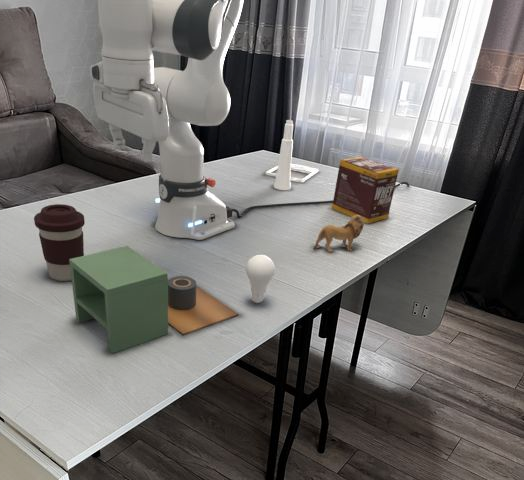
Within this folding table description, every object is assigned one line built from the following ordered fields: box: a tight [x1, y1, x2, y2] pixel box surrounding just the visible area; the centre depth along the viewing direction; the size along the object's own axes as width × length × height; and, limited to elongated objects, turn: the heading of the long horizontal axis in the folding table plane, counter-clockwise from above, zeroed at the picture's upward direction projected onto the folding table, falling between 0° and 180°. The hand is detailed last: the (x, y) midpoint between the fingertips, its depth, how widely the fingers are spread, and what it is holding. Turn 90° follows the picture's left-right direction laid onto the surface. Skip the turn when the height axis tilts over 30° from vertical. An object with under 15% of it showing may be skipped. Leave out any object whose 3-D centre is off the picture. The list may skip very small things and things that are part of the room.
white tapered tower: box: [273, 119, 294, 191], centre depth 182 cm, size 6×6×22 cm
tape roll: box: [168, 275, 198, 310], centre depth 113 cm, size 6×6×5 cm
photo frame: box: [265, 162, 320, 184], centre depth 204 cm, size 15×1×18 cm
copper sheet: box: [168, 285, 239, 336], centre depth 114 cm, size 14×20×1 cm
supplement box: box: [331, 156, 400, 225], centre depth 169 cm, size 10×15×16 cm
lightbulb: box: [245, 254, 276, 304], centre depth 115 cm, size 6×6×11 cm
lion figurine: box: [312, 215, 365, 253], centre depth 145 cm, size 15×5×9 cm, turn 116°
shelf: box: [69, 245, 169, 354], centre depth 101 cm, size 12×14×13 cm
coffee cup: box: [33, 203, 85, 282], centre depth 117 cm, size 10×10×15 cm
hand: (132, 154), depth 104 cm, fingers open, 8 cm apart
